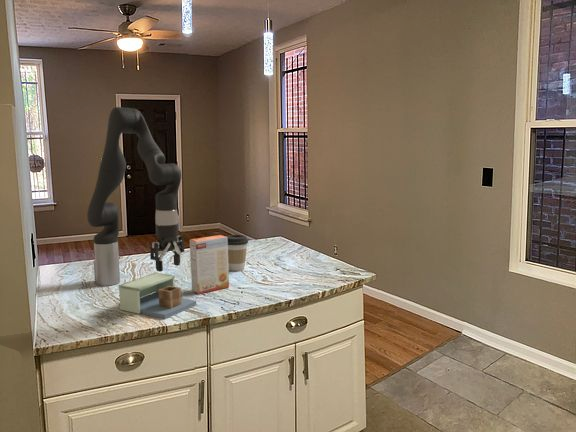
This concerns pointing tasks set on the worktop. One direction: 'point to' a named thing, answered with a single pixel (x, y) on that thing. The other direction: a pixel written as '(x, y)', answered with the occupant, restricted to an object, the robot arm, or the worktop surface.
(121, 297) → the cover
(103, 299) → the worktop surface
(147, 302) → the base
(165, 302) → the wooden box
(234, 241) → the coffee cup
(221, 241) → the cracker box
